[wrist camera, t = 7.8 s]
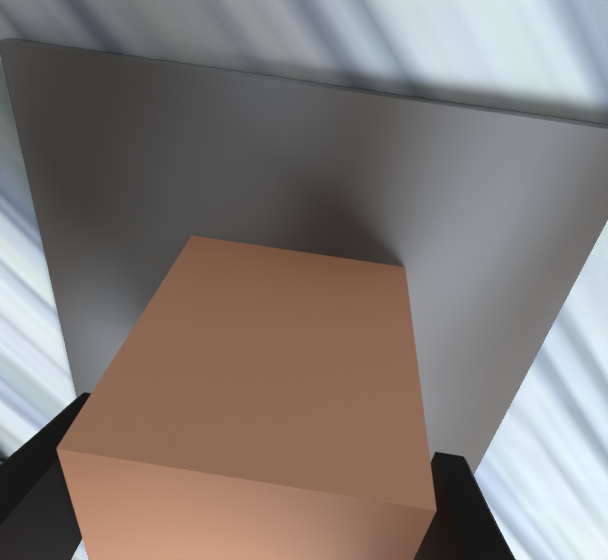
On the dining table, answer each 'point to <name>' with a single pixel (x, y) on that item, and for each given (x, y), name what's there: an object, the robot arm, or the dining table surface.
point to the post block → (310, 206)
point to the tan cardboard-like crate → (258, 416)
